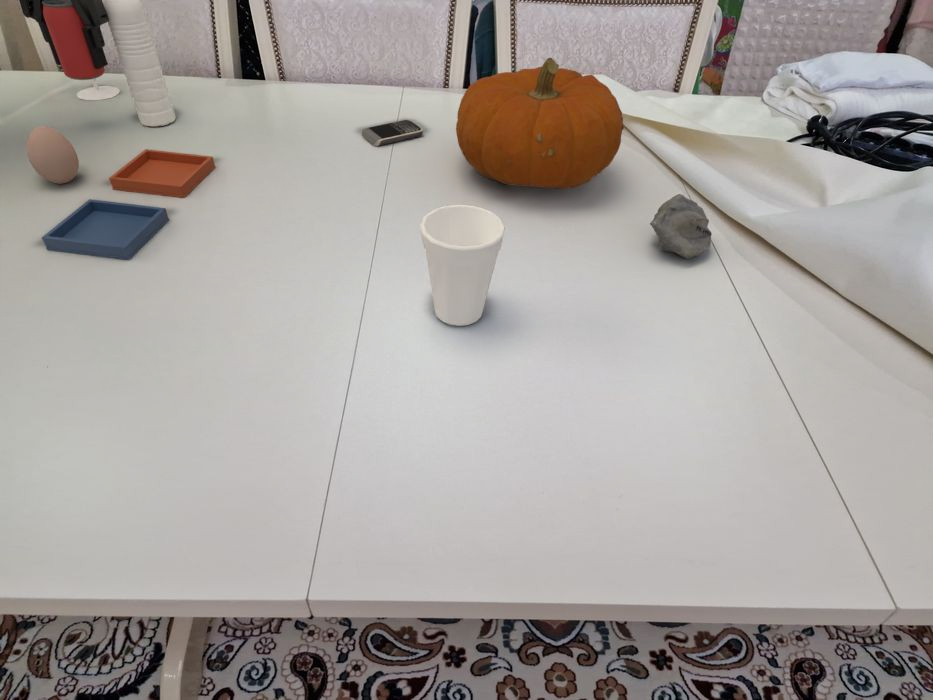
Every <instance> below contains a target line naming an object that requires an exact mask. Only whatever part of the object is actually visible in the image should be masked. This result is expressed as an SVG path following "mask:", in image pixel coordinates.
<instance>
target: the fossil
mask: <svg viewBox="0 0 933 700" xmlns="http://www.w3.org/2000/svg"><path fill="white" fill-rule="evenodd" d="M698 204H699V203H697V202H696V201H694V200H692V199H690V198H687V197H686V196H685V195H683V194H681V193H678V194H676V195H674V196H672V197H671V198H670V199H667V200H666V201H665V202H663V203H662V204H661V205H660V206H659V207H658V209H657V212H656V213H655V214H654V216H653V219H652V220H651V221H650V222H649V225H650V226H651V227H652V229H653V230H654V233H655V234H656V236H657V237H658V247H659V250H661V251H664V252H668V253H676V254H677V255H679V256H681V257H683V258H685V259H690V258H694V257H696V256H698V255H701V254H703V253H705V252H706V251H707V250H708V249H709V248H710V246H711V243H712V233H713V232H712V231H711V230H710V228H708V226H709V222H710V220H709V218H708V217H707V215H706V212H705V210H704V209H703V208H702V206H700V205H698Z"/></svg>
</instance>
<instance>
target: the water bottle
mask: <svg viewBox="0 0 933 700" xmlns="http://www.w3.org/2000/svg"><path fill="white" fill-rule="evenodd" d="M102 2H103V4H104V7H105V10H106V12H107V15H108V18H109V21H108V22H107V25H108V27H109V30H110V33H111V37H112V40H113V42H114V46H115V48H116V52H117V55H118V59H119V62H120V64H121V67H122V71H123V74H124V77H125V78H126V83H127V86H128V88H129V91H130V95H131V97H132V101H133V104H134V107H135V109H136V114H137V116H138V120H139V123H140V124H142V125H143V126H145V127H159V126H163V127H164V126H166V125H169V124H172V123H173V122H175V120H176V113H175V109H174V107H173V105H172V99H171V97H170V94H169V89H168V86H167V83H166V79H165V76H164V75H163V69H162V66H161V64H160V58H159V55H158V52H157V49H156V45H155V41H154V39H153V35H152V31H151V29H150V28H151V27H150V25H149V21H148V19H147V15H146V9H145V7H144V4H143V3H142V0H102Z"/></svg>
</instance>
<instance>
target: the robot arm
mask: <svg viewBox="0 0 933 700" xmlns="http://www.w3.org/2000/svg"><path fill="white" fill-rule="evenodd" d="M18 1H19V5H20V8H21V11H22V12H21V13H22V14H23V16H24V17H25V18H27V19H29V18H30V19H32V20H35V22H36V23H37V24H38V26H39V29H40V32H41V35H42V37H43V40H44V42H46V43H48V45H49V47H50V50H51V53H52V56H53V58H54V62H55V64H56V65H60V66H61V63H60V60H59V58H58V55H57V52H56V49H55V46H54V44H53V41H52V38H51V35H50V33H49V30H48V27H47V24H46V21H45V19H44V15H43V3H42V1H43V0H18ZM71 2H72V4H73V5H74V7H75V9H76V10H77V12H78V14H79V15H80V17H81V19H82V20H83V22H84V24H85V25H86V26H84V27H83V29H82V30H83V33H84V36H85V39H86V42H87V45H88V48H89V51H90V55H91V58H92V61H93V64H94V67H95V69H100V68H102V67H104V68H105V67H106V66H109V63H108V60H107V58H106V54H105V51H104V47H105V46H106V41H105V38H104V35H103V32H102V30H101V26H102V25H104V24H108V21H109V18H108V15H107V12H106V10H105V7H104V4H103V0H71Z"/></svg>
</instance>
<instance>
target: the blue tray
mask: <svg viewBox="0 0 933 700" xmlns="http://www.w3.org/2000/svg"><path fill="white" fill-rule="evenodd" d="M169 220H170V218H169V215H168V212H167V208H166V207H158V206H151V205H142V204H133V203H126V202H125V203H124V202H116V201H109V200H108V201H107V200H99V199H90V198H89V199H88V200H87V201H85V202H84V203H83V204H81V205H80V206H79V207H77V209H75V210H74V211H73V212H72V213H70V214H69V215H67V216H66V217H65V218H64V219H62V221H60V222H59V223H57V224H56V225H55V226H54V227H53V228H52V229H50V230H49V231H48V232H46V233H45V234H44V235H43V236H42V237H41V240H42V243H44V246H45V248H46V250H48V251H55V252H63V253H70V254H79V255H85V256H86V255H87V256H96V257H103V258H111V259H118V260H119V259H120V260H127V261H130V260H131V259H132V257H134V256H135V255H136V254H137V252H139V250H141V248H143V247H144V245H145V244H147V243H148V242H149V241H150V240H151V239H152V238H153V236H155V235H156V234H157V233H158V231H159V230H160V229H161V228H163V227H164V226H165V225H166V224H167V222H168V221H169Z"/></svg>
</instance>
